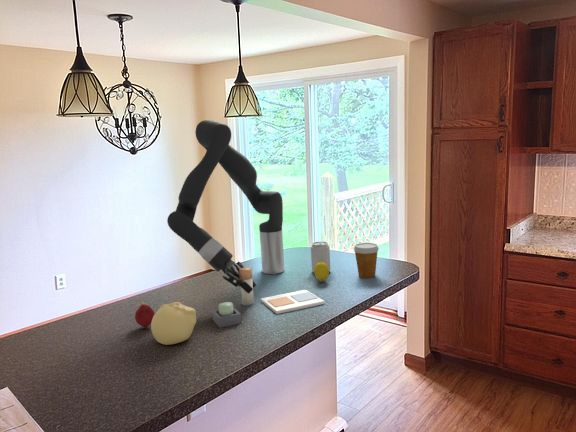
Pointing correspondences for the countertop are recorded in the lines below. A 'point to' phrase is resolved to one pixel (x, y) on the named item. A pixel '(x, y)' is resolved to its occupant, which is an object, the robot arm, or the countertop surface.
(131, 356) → the countertop surface
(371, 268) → the disposable coffee cup
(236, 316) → the button housing
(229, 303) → the button
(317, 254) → the can
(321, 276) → the lemon
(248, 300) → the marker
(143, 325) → the onion
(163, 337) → the pale yellow lumpy ball
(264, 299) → the picture board
